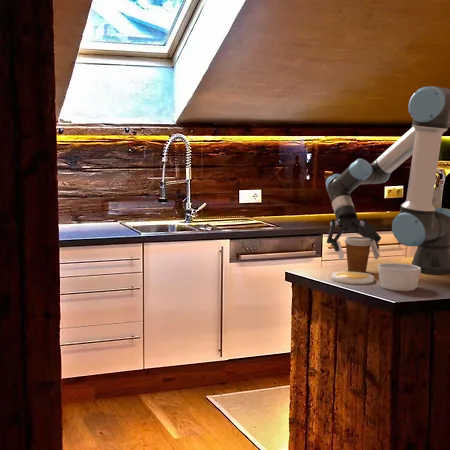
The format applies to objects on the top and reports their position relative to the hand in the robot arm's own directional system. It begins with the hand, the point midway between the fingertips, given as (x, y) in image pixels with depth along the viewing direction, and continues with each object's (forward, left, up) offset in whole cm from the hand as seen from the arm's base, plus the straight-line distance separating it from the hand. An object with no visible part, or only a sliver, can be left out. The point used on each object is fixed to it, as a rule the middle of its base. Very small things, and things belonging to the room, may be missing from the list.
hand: (359, 257), depth 246 cm
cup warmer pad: (+11, +8, -5) cm, 15 cm away
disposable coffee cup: (-1, -2, -6) cm, 6 cm away
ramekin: (+6, +24, -6) cm, 25 cm away
